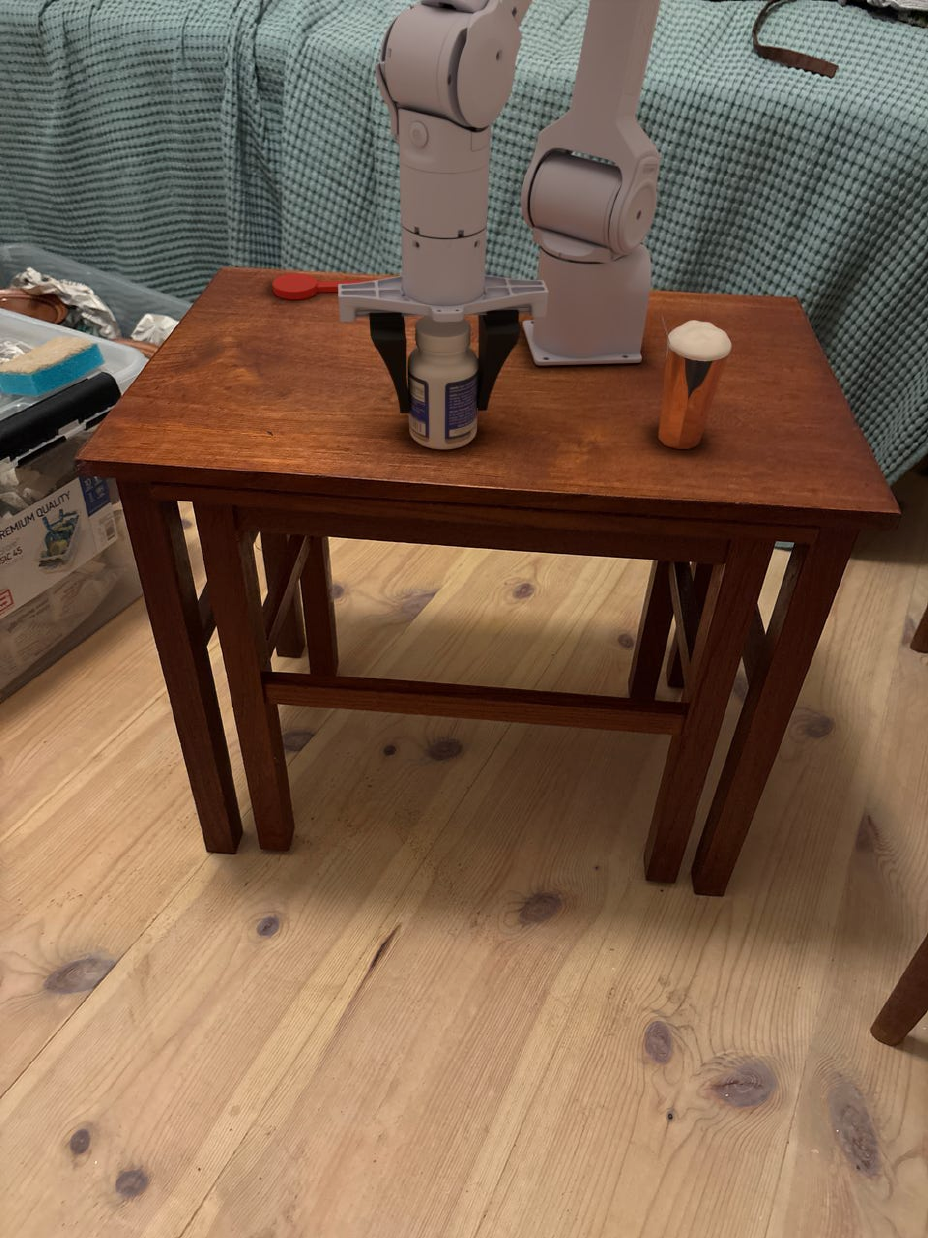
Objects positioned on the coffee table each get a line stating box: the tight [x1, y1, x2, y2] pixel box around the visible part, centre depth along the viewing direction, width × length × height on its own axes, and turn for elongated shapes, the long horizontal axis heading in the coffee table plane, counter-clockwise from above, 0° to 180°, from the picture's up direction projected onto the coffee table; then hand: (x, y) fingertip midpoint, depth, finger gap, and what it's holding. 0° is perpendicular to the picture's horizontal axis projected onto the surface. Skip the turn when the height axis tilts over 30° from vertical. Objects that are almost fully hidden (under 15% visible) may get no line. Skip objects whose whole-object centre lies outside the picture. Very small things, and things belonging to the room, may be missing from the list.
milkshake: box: [657, 316, 732, 450], centre depth 69 cm, size 4×5×10 cm
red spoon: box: [272, 272, 375, 300], centre depth 90 cm, size 16×4×1 cm, turn 96°
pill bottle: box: [406, 316, 479, 450], centre depth 69 cm, size 5×5×9 cm
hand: (442, 405), depth 70 cm, fingers closed on pill bottle, 5 cm apart
